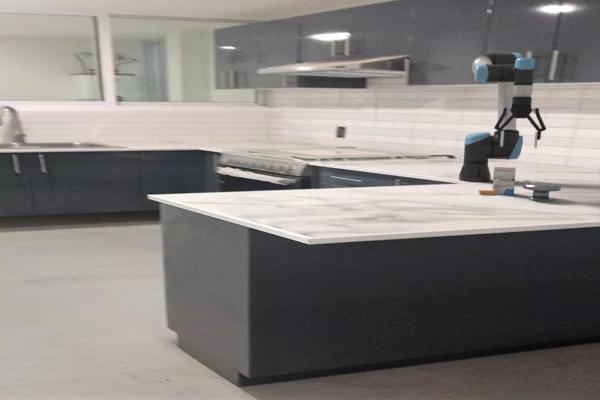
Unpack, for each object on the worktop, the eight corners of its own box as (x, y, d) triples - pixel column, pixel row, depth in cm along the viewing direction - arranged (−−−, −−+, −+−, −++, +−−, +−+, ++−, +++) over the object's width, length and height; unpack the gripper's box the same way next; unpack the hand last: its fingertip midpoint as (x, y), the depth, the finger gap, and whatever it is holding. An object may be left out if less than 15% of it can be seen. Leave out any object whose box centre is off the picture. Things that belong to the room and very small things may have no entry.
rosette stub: (517, 199, 216) (518, 182, 215) (527, 194, 227) (529, 178, 225) (554, 204, 207) (556, 186, 206) (563, 198, 218) (565, 181, 217)
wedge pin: (479, 195, 227) (480, 190, 226) (478, 194, 229) (478, 189, 229) (494, 195, 226) (494, 191, 226) (493, 194, 229) (493, 190, 228)
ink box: (514, 193, 230) (516, 166, 227) (513, 195, 225) (515, 167, 223) (493, 192, 233) (495, 165, 231) (492, 194, 229) (494, 166, 226)
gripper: (489, 96, 226) (486, 146, 230) (554, 96, 214) (549, 149, 218) (493, 96, 233) (489, 144, 237) (556, 96, 220) (551, 147, 224)
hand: (518, 147), depth 227 cm, fingers open, 13 cm apart
